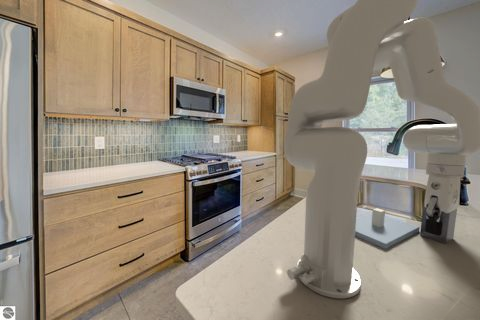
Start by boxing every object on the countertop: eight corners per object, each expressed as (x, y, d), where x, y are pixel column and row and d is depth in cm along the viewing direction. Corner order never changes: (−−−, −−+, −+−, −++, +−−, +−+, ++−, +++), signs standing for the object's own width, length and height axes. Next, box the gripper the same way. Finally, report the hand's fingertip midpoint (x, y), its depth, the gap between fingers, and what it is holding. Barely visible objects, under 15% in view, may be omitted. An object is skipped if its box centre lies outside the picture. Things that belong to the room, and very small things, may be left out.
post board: (385, 249, 52) (387, 225, 52) (337, 227, 65) (338, 208, 64) (419, 231, 62) (421, 211, 61) (371, 215, 74) (372, 198, 73)
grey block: (445, 243, 55) (449, 212, 54) (420, 235, 60) (423, 206, 59) (453, 238, 57) (457, 208, 56) (427, 230, 62) (431, 203, 61)
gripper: (451, 175, 49) (443, 245, 51) (473, 169, 57) (465, 229, 59) (413, 170, 55) (407, 232, 57) (438, 166, 63) (432, 220, 66)
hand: (437, 230), depth 58 cm, fingers closed on grey block, 5 cm apart
